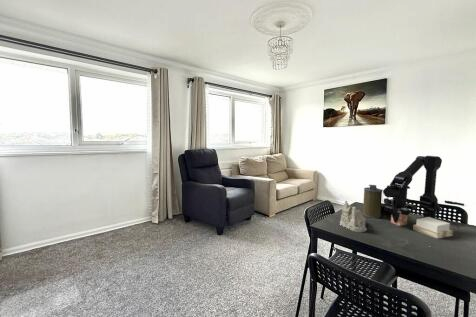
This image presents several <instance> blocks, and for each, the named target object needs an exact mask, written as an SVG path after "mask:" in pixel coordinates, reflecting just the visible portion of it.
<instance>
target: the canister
mask: <svg viewBox="0 0 476 317" xmlns="http://www.w3.org/2000/svg"><path fill="white" fill-rule="evenodd" d="M381 203H382V204H383V203H384V198H383V189H381V188H377V185H376V184H369V185H368V187H364V188H363V207H362V212H361V213H362V215H363V216H364V217H366V218H372V219H373V218H374V219H378V218H381V216H382V215H380V213H381Z"/></svg>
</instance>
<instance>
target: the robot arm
mask: <svg viewBox="0 0 476 317" xmlns="http://www.w3.org/2000/svg"><path fill="white" fill-rule="evenodd" d="M442 164H443V159H442V158H441V157H440V156H437V155H426V156H423V155H418V156H416V158H415V159H414V161H412V162H411V163H410V164H409V165H408V167H406V169H405V170H403V171H400V172H398V173H396V174H395V175H394V178H393V179H392V180H391V182H390V183H389V185H386V187H385V188H384V189H383V190H382V194H383V196H384V197H385V198H384V197H383V203H384V204H386V205H387V206H385V207H384V210H385V211H388V212H390V213H391V214H392V217H393V220H394V222H395V223H396V222H397V220H398V218H399V215H400V213H401V214H404V215H407V217H409V215H410V214H411V212H413V211H416V210H417V206H416V205H415V204H412V203H408V201H409V198H408V189H411V187H410V184H411V183H412V181H413V177H414V175H416V173H418V171H419V170H420V169H422V167H423V168H425V169H424V170H425V180H424V191H423V192H424V193H423V194H422V195H420V196H419V200H418V201H419V206H420V208H421V209H423V216H421V217H420V218H426V217H431V218H434V219H437V220H439V219H438V218H437V213H440V212H441V211H442V207H441V206H440V204H439V199H438V197H437V196H436V194H435V192H436V182H437V172H438V170H439V169H440V168H441V166H442ZM389 198H390V199H389ZM390 204H391V205H392V206H391V205H390ZM394 206H395V207H394Z"/></svg>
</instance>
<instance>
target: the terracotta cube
mask: <svg viewBox="0 0 476 317" xmlns="http://www.w3.org/2000/svg"><path fill="white" fill-rule="evenodd" d="M390 223H391V224H394V225H397V226H399V227H402V226H407V224H408V216H407V215H404V214H401V212H400V215H399V218H398V220H397V222H396V223H395V222H394V220H393V217H392V216H390Z"/></svg>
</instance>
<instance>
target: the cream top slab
mask: <svg viewBox="0 0 476 317" xmlns="http://www.w3.org/2000/svg"><path fill="white" fill-rule="evenodd" d="M437 219H438V218H436V219H434V218H431V217H426V218H421V217H419V218H417V219H416V225H417V226H420V227H423V228H426V229H429V230H431V231H434V232H441V231H446V230H449V229H450V226H451V223H450V222H448V221H447V222H446V221H444V220H440V219H438V220H437Z"/></svg>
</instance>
